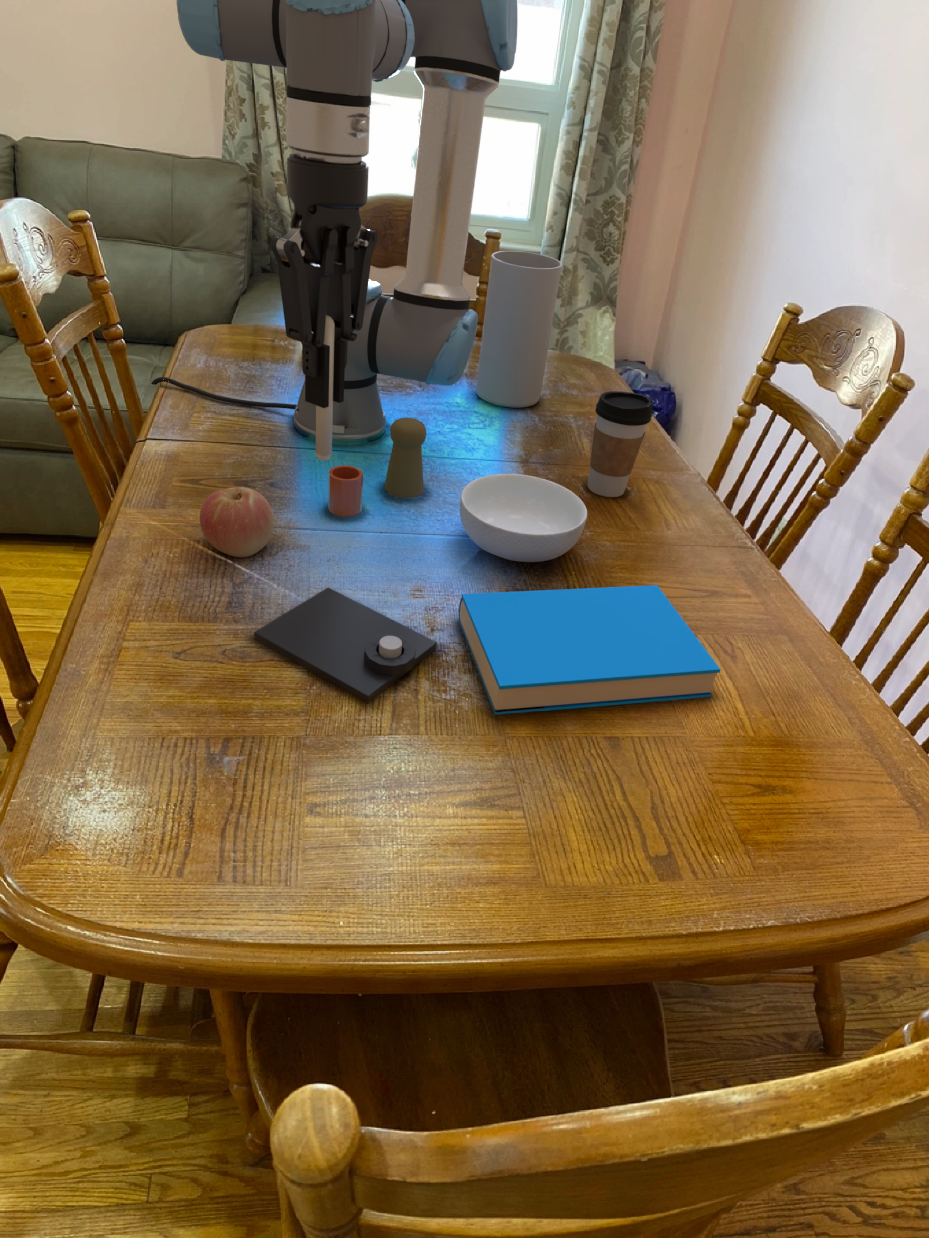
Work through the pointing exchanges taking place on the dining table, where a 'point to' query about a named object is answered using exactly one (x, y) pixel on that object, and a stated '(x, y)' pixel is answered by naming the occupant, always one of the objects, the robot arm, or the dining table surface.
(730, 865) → the dining table surface
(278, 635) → the tablet
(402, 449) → the cork
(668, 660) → the book
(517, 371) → the cylinder vase
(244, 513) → the apple
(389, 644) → the button
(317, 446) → the beige rod
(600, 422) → the coffee cup
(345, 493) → the pen pot
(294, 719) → the dining table surface
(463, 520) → the cereal bowl
